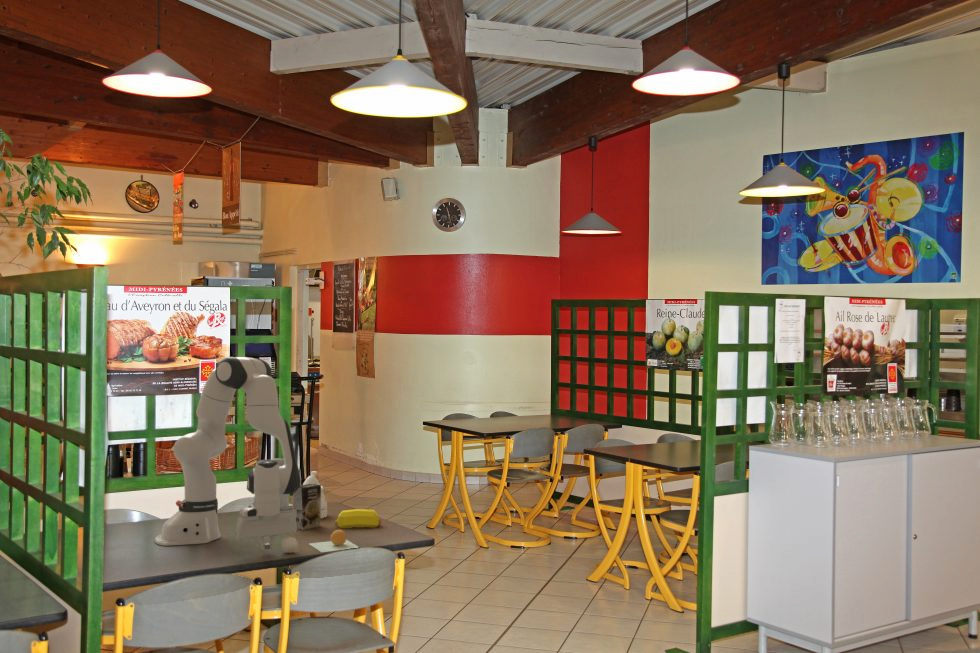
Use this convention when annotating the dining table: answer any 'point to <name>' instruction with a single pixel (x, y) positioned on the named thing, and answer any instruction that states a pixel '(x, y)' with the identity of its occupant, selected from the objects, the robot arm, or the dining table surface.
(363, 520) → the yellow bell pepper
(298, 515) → the coffee box
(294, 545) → the cue ball
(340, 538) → the object ball
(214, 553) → the dining table surface
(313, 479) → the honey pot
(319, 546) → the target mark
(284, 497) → the tall pale column
